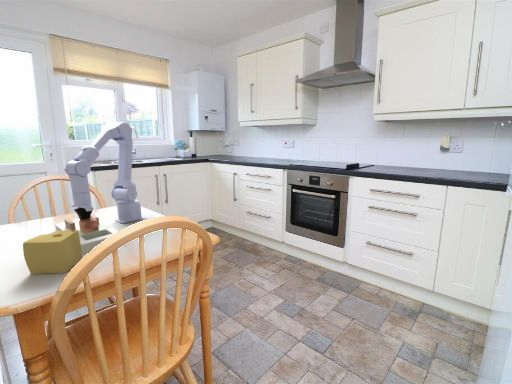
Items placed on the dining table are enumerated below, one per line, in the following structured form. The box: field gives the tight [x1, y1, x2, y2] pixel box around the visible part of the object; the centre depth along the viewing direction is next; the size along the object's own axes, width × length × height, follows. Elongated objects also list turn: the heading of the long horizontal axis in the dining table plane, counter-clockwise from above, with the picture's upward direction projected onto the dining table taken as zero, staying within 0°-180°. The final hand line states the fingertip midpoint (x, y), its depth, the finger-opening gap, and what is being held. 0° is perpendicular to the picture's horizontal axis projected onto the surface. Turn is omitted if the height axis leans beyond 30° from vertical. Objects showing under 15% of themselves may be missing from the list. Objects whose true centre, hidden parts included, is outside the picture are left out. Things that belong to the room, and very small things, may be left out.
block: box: [79, 218, 99, 234], centre depth 107 cm, size 5×5×4 cm
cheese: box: [22, 230, 83, 275], centre depth 84 cm, size 10×11×10 cm
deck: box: [54, 213, 119, 254], centre depth 110 cm, size 14×33×6 cm, turn 47°
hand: (86, 225), depth 110 cm, fingers closed
